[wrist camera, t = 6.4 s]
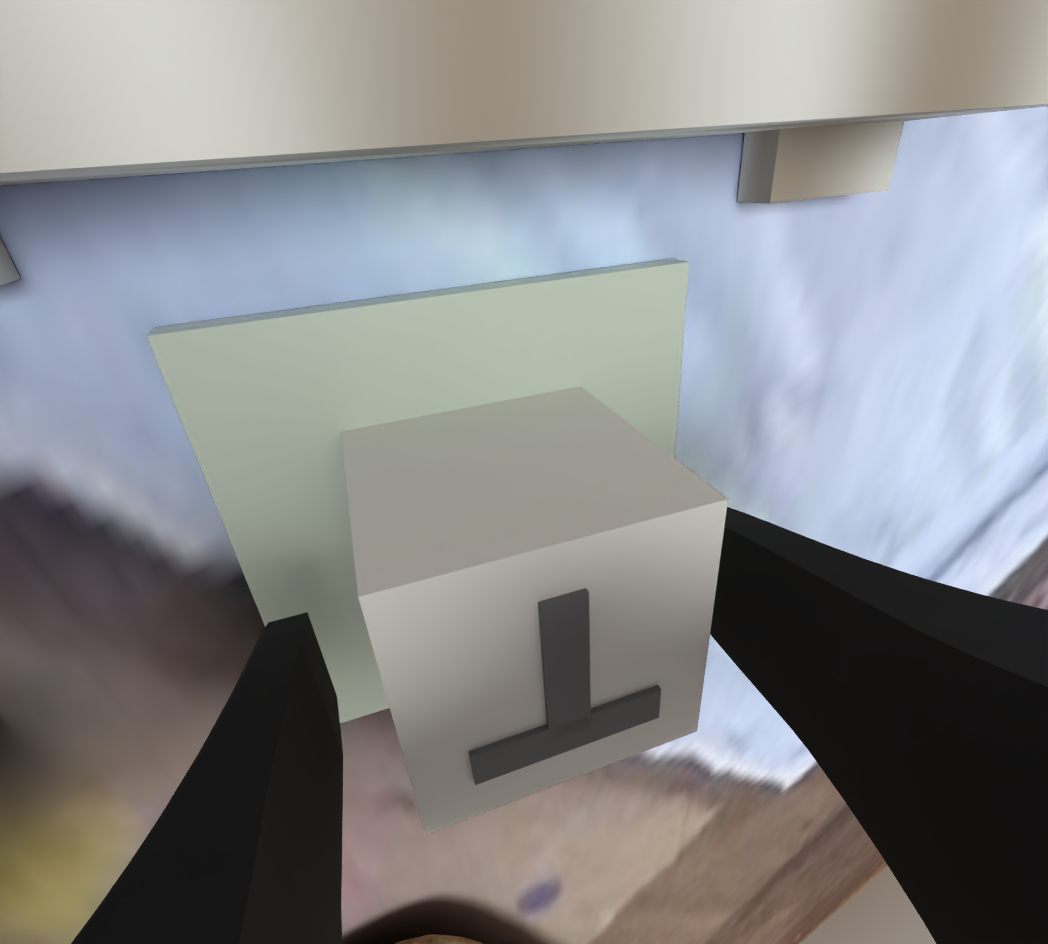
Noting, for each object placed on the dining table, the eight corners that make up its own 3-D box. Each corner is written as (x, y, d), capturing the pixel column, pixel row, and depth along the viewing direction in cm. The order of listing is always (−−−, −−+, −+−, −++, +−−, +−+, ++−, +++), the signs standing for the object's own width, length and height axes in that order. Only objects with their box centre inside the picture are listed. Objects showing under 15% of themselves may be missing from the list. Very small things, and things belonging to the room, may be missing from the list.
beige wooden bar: (915, -45, 11) (1194, -150, 7) (867, 187, 13) (1068, 190, 9) (-583, -85, 6) (-1918, -484, 2) (-277, 311, 8) (-748, 413, 4)
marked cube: (580, 386, 12) (733, 502, 7) (583, 568, 14) (700, 735, 10) (340, 431, 10) (358, 603, 6) (389, 623, 13) (426, 840, 9)
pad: (673, 258, 12) (688, 262, 11) (651, 607, 17) (662, 620, 16) (155, 327, 9) (146, 335, 9) (309, 713, 14) (308, 733, 14)
